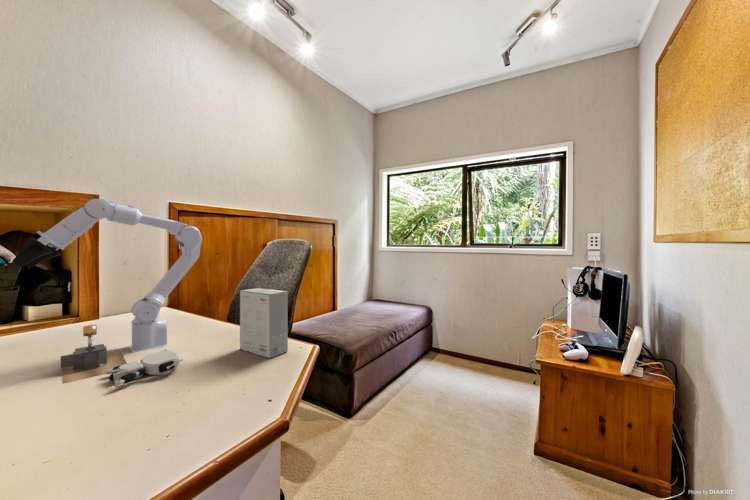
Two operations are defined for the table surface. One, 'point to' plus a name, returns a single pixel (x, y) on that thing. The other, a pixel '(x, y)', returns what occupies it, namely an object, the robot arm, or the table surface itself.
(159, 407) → the table surface
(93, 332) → the plunger
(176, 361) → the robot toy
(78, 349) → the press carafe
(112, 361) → the walnut board
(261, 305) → the hard drive box
